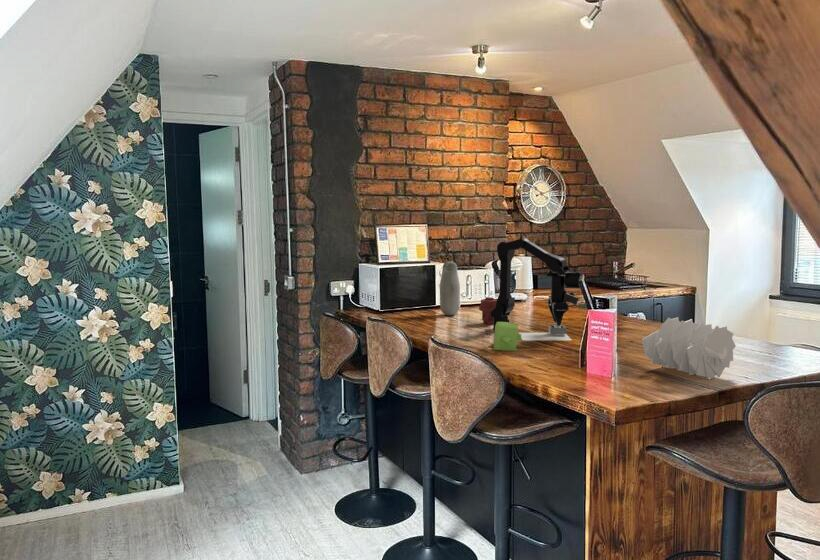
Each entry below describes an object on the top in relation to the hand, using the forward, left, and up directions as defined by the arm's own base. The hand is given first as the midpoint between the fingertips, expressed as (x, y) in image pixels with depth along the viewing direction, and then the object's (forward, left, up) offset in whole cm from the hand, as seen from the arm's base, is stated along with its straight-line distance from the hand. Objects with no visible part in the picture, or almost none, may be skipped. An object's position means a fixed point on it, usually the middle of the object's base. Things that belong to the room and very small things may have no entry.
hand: (557, 323), depth 276 cm
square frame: (0, 0, -4) cm, 4 cm away
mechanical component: (-27, +31, -5) cm, 41 cm away
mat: (-6, -5, -5) cm, 9 cm away
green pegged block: (-23, -26, -6) cm, 35 cm away
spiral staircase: (+32, -64, -6) cm, 72 cm away
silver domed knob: (0, 0, -5) cm, 5 cm away
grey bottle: (-46, +56, -5) cm, 73 cm away
